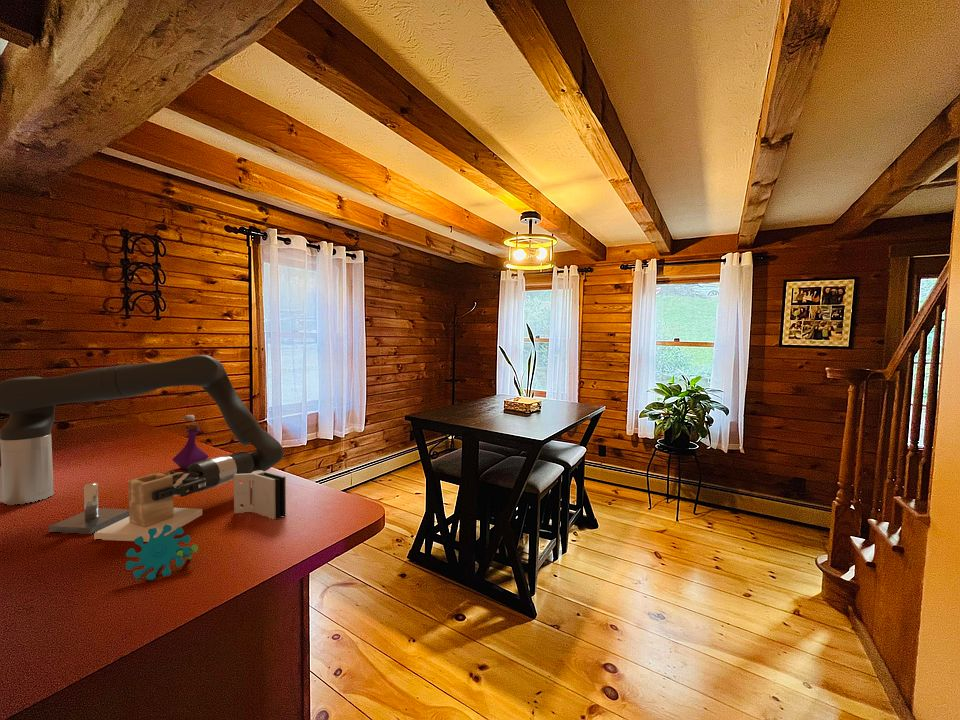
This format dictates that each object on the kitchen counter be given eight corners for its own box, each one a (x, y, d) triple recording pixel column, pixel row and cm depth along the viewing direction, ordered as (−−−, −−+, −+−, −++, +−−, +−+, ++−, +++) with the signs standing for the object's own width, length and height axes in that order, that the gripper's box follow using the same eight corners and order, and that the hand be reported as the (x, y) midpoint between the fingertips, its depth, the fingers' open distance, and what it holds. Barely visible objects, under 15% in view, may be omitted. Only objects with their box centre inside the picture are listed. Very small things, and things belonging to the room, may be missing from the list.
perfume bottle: (209, 465, 142) (208, 414, 141) (187, 471, 135) (186, 417, 134) (193, 462, 144) (192, 412, 143) (171, 469, 137) (170, 416, 136)
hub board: (94, 539, 90) (93, 506, 89) (149, 512, 104) (148, 483, 103) (154, 542, 89) (154, 508, 88) (202, 514, 103) (201, 485, 102)
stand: (49, 532, 92) (47, 491, 92) (93, 513, 102) (92, 476, 102) (90, 534, 92) (89, 493, 91) (131, 515, 102) (130, 477, 101)
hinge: (233, 513, 104) (232, 474, 103) (250, 505, 109) (249, 468, 109) (277, 520, 100) (277, 480, 100) (293, 512, 105) (293, 473, 105)
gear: (114, 580, 72) (136, 523, 79) (121, 590, 76) (142, 535, 83) (188, 576, 76) (203, 522, 83) (191, 585, 80) (205, 534, 87)
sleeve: (129, 522, 95) (128, 480, 94) (158, 512, 100) (157, 472, 100) (144, 527, 92) (143, 484, 92) (173, 517, 98) (172, 476, 97)
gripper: (194, 455, 112) (123, 473, 97) (230, 462, 106) (160, 482, 91) (195, 482, 112) (124, 504, 97) (230, 490, 106) (161, 515, 91)
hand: (142, 493), depth 94 cm, fingers open, 8 cm apart
